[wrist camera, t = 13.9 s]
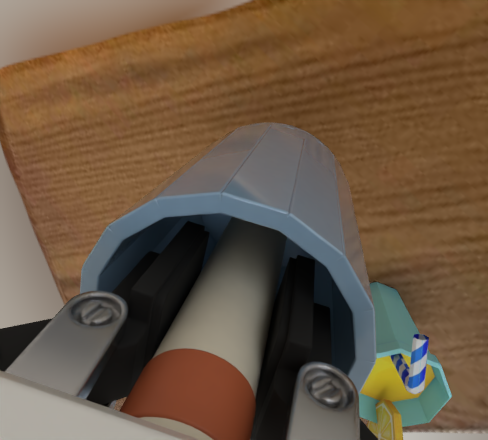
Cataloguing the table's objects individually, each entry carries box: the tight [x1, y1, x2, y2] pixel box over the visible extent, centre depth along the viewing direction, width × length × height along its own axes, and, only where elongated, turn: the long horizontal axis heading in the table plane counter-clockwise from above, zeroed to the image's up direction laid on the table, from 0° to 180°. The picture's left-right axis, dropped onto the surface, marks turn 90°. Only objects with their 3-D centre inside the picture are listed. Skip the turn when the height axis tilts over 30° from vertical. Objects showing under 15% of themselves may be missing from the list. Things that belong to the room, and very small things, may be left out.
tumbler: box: [80, 122, 377, 395], centre depth 14 cm, size 8×8×10 cm
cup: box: [358, 282, 452, 440], centre depth 30 cm, size 14×8×15 cm, turn 3°
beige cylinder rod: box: [120, 217, 287, 440], centre depth 12 cm, size 2×2×14 cm
